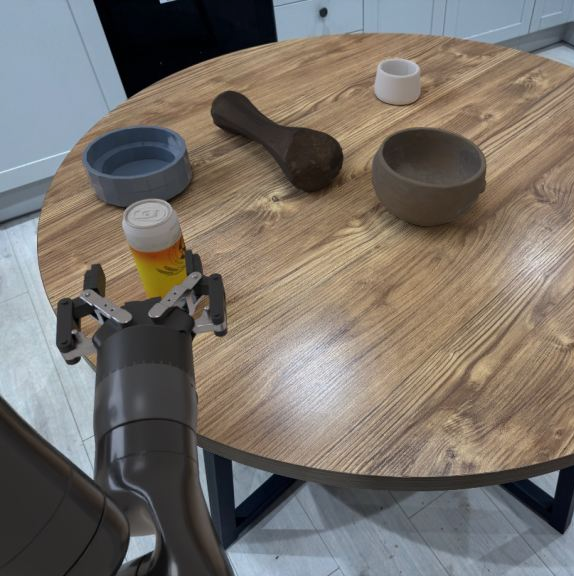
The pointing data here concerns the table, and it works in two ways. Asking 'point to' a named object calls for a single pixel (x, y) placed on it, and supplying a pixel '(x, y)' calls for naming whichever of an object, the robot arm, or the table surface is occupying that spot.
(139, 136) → the blue bowl
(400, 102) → the white tapered round piece
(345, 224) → the table surface
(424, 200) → the bowl
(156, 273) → the beer can
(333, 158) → the dark brown pestle
